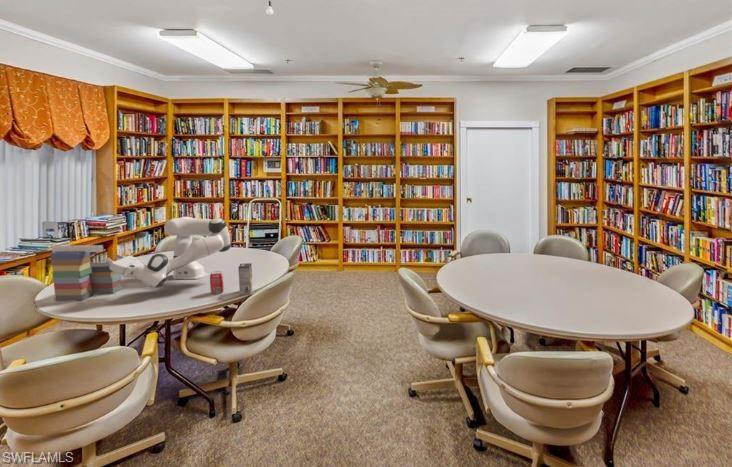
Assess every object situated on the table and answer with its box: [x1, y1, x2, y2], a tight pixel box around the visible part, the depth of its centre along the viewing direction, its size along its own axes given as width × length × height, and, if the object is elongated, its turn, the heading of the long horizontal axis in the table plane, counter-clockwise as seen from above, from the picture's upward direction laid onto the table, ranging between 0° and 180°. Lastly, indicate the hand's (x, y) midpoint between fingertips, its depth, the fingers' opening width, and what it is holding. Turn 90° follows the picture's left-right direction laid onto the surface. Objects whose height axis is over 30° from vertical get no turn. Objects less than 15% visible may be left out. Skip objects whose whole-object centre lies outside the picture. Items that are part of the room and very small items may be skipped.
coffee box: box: [238, 262, 253, 295], centre depth 233 cm, size 9×6×16 cm
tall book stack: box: [49, 252, 94, 302], centre depth 220 cm, size 14×10×26 cm
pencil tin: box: [51, 244, 104, 253], centre depth 218 cm, size 24×4×3 cm, turn 94°
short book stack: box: [89, 262, 123, 295], centre depth 233 cm, size 16×10×16 cm, turn 94°
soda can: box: [209, 270, 225, 295], centre depth 232 cm, size 7×7×12 cm
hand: (111, 257), depth 220 cm, fingers open, 8 cm apart
